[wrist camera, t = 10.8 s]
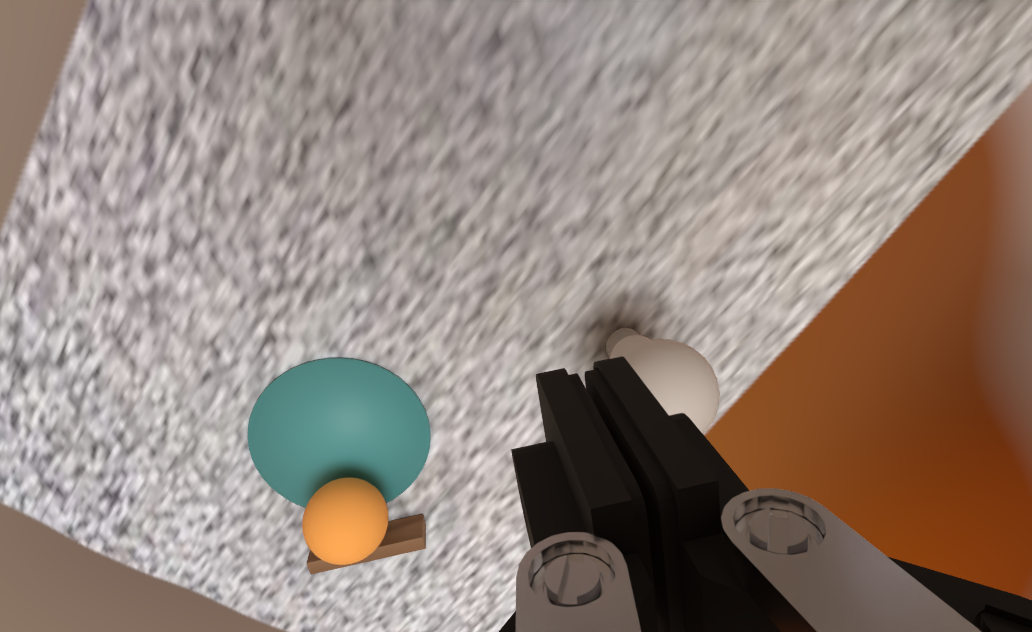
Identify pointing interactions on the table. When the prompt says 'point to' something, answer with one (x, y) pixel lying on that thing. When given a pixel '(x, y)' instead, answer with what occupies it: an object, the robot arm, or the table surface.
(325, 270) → the table surface
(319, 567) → the stopper strip
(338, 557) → the ball
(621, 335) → the lightbulb
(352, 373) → the disc
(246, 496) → the table surface
